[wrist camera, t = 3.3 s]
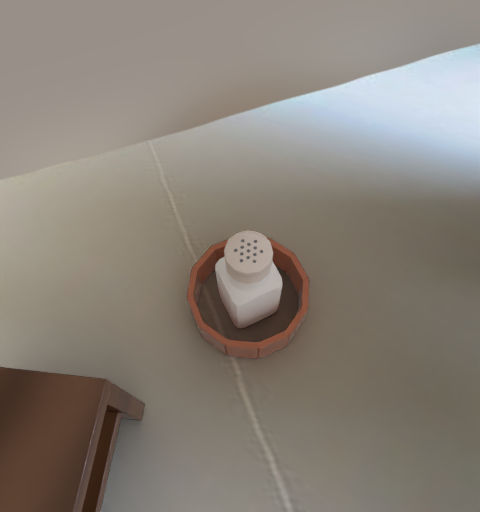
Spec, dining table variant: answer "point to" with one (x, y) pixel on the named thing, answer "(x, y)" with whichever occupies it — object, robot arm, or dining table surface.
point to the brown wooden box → (58, 439)
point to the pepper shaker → (248, 278)
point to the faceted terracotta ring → (244, 348)
